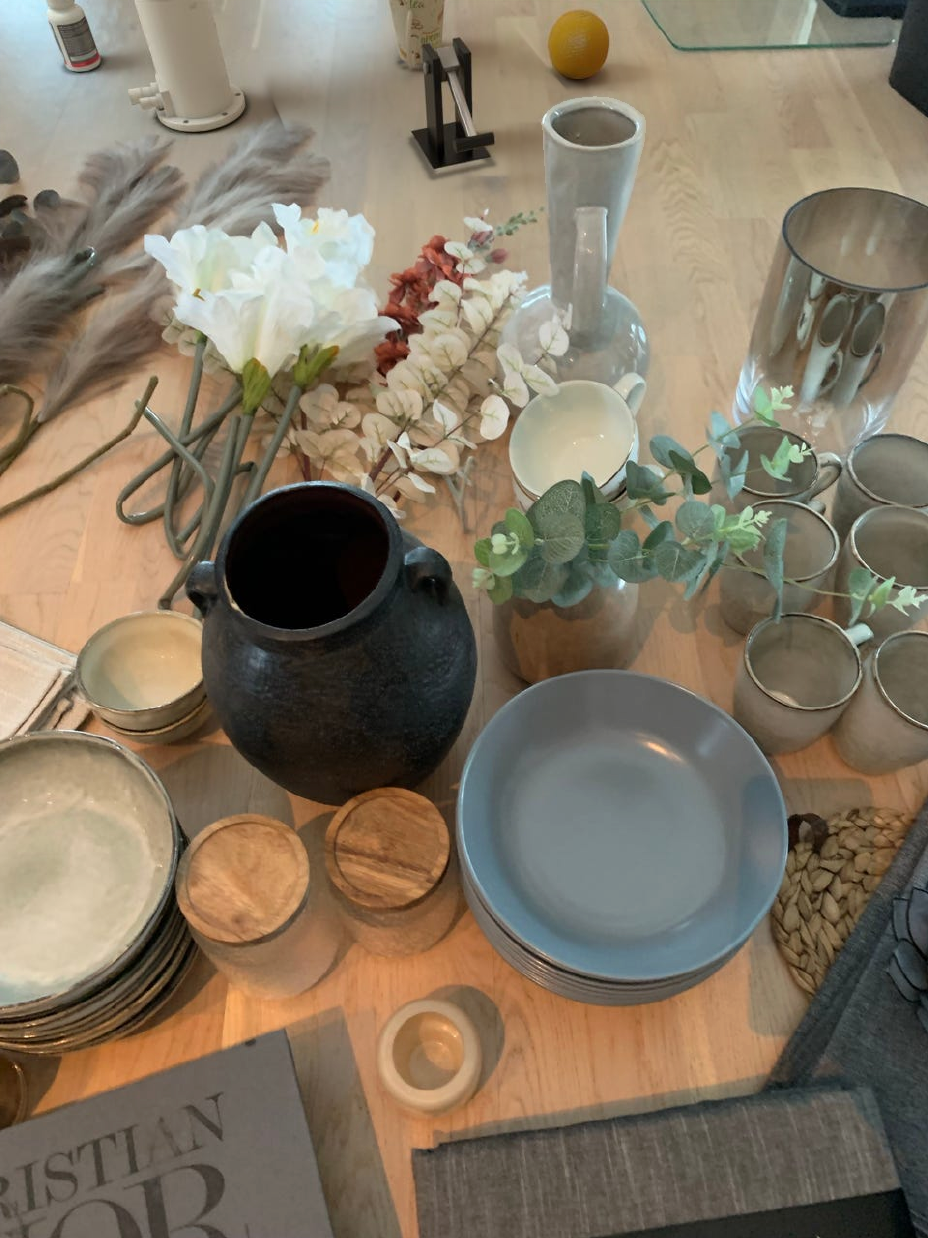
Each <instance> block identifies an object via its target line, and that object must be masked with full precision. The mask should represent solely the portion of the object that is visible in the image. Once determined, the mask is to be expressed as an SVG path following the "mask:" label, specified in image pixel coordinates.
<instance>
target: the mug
mask: <svg viewBox="0 0 928 1238" xmlns="http://www.w3.org/2000/svg"><path fill="white" fill-rule="evenodd" d="M445 1H446V0H388V3H389V7H390V8H389V9H390V12H391V19H392V22H393V28H394V33H395V39H396V44H397V48H398V53H399V57H400V59H401V60H403V61H404V62H407V65H408V67H409V68H414V67H415V65H416V64H423V51H422V44H427V43H430V45H431V46H432V48H433V49H434V50H435V52H436V49H437V48H442V47H443V46H442V42H443V31H444V30H443V29H444V28H443V27H444V17H445V15H444V13H445Z"/></svg>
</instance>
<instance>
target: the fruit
mask: <svg viewBox="0 0 928 1238" xmlns="http://www.w3.org/2000/svg"><path fill="white" fill-rule="evenodd" d="M548 35H549V36H548V39H547V47H548V48H547V49H548V55H549V59H550V62H551V65H552V68H554V70H555V71H556V72H557V73H558V74H560V75H561V76H563V77H565V78H568V79H570V80H571V79H572V80H584V79H588V78H590V77H592V76H594V75H595V74H597V73H598V72H599V71H600V70H601V69H602V68H603V66H604V65H605V63H606V61H607V58H608V55H609V51H610V50H609V49H610V33H609V30H608V27H607V26H606V24H605V22H604V21H603V20H602V19H601V17H599V16H598V15H597V14H595V13H594V12H591V11H589V10H586V9H574V10H569V11H567V12H564V13H563V14H562V15H561V16H559V18H557V19H556V20H555V22H554V24H553V25H552V27H551V28H550V32H549V34H548Z"/></svg>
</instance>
